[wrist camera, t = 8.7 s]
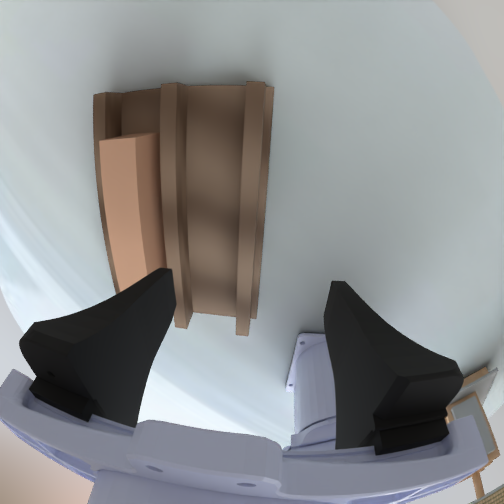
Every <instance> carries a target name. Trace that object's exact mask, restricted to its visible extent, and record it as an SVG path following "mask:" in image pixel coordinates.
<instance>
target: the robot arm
mask: <svg viewBox="0 0 504 504" xmlns="http://www.w3.org/2000/svg"><path fill="white" fill-rule="evenodd" d="M176 305H177V303H176V295H175V288H174V280H173V272H172V269H170V268H158V269H156V270H155V271H153V272H151V273H150V274H148V275H147V276H145V277H144V278H142V279H141V280H139V281H137V282H136V283H134V284H133V285H131V286H130V287H128V288H126V289H125V290H123V291H121V292H120V293H118V294H116V295H115V296H113V297H111V298H109V299H107V300H105V301H103V302H101V303H99V304H97V305H95V306H92V307H90V308H87V309H85V310H82V311H79V312H77V313H74V314H70V315H67V316H63V317H60V318H56V319H51V320H45V321H40V322H34V323H33V324H32V326H31V327H30V328H29V329H28V331H27V332H26V333H25V334H24V336H23V337H22V338H21V339H20V341H19V346H20V349H21V352H22V354H23V356H24V358H25V359H26V361H27V362H28V364H29V365H30V367H31V369H32V370H33V372H34V373H35V375H36V376H37V377H36V378H35V380H34V381H33V380H31V379H30V378H29V377H28V376H26V375H24V374H22V373H21V372H19V371H17V370H15V369H13V370H12V371H11V372H10V374H9V375H8V377H7V378H6V379H5V381H4V382H3V384H2V385H1V387H0V420H1V422H2V423H3V424H5V425H6V426H7V427H8V428H9V429H10V430H11V431H12V432H13V433H14V434H15V435H16V436H17V437H18V438H20V439H21V440H23V441H24V442H25V443H27V444H28V445H30V446H31V447H33V448H34V449H36V450H37V451H39V452H41V453H42V454H44V455H45V456H47V457H48V458H50V459H52V460H53V461H55V462H57V463H58V464H60V465H62V466H64V467H65V468H67V469H69V470H71V471H72V472H74V473H76V474H78V475H80V476H82V477H84V478H86V479H88V480H90V481H92V482H94V486H93V489H92V492H91V495H90V498H89V500H88V503H87V504H406V503H408V502H411V501H414V500H417V499H420V498H423V497H426V496H428V495H431V494H434V493H437V492H439V491H442V490H444V489H447V488H449V487H452V486H454V485H455V484H457V483H459V482H460V481H462V480H463V479H465V478H467V477H468V476H470V475H471V474H473V473H474V472H476V471H477V470H479V469H480V468H482V467H483V466H485V465H486V464H487V463H488V462H489V460H488V457H487V453H486V450H485V447H484V444H483V441H482V438H481V435H480V433H479V430H478V427H477V425H476V422H475V419H474V417H473V415H469V416H466V417H463V418H459V419H456V420H453V421H451V422H450V423H448V424H446V421H445V418H446V417H447V416H448V413H447V410H446V407H447V406H448V405H449V403H450V402H451V401H452V400H453V399H454V397H455V396H456V395H457V394H458V392H459V391H460V389H461V388H462V385H463V382H464V377H463V375H462V373H461V371H460V369H459V367H458V365H457V363H456V361H454V360H452V359H449V358H447V357H444V356H442V355H439V354H437V353H434V352H432V351H430V350H428V349H426V348H424V347H423V346H421V345H419V344H417V343H415V342H414V341H412V340H411V339H409V338H407V337H406V336H404V335H403V334H401V333H400V332H399V331H397V330H396V329H395V328H393V327H392V326H391V325H389V324H388V323H387V322H386V321H384V320H383V319H382V318H381V317H380V316H379V315H378V314H377V313H376V312H375V311H373V310H372V309H371V308H370V307H369V306H368V305H367V304H366V303H365V302H364V301H363V300H362V299H361V298H360V296H359V295H358V294H357V293H356V292H355V291H354V290H353V289H352V288H351V287H350V286H349V285H348V284H347V283H346V282H345V281H332V282H331V287H330V291H329V296H328V300H327V304H326V308H325V312H324V329H325V334H312V333H301V334H299V335H298V338H297V342H296V346H295V351H294V355H293V359H292V363H291V367H290V371H289V375H288V379H287V383H286V387H285V390H286V391H287V392H294V416H295V434H294V435H291V446H286V447H284V448H283V449H282V448H281V446H280V445H279V444H278V443H277V442H274V441H272V440H270V439H268V438H266V437H260V436H254V435H249V434H239V433H230V432H221V431H214V430H207V429H201V428H195V427H189V426H184V425H179V424H174V423H169V422H165V421H156V420H146V421H143V422H140V423H137V421H138V415H139V411H140V406H141V402H142V397H143V393H144V389H145V386H146V382H147V379H148V375H149V372H150V369H151V366H152V363H153V361H154V358H155V356H156V354H157V352H158V349H159V347H160V345H161V343H162V341H163V339H164V337H165V335H166V332H167V330H168V328H169V326H170V324H171V321H172V318H173V315H174V312H175V308H176ZM301 341H304V342H301Z"/></svg>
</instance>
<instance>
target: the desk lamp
mask: <svg viewBox="0 0 504 504" xmlns="http://www.w3.org/2000/svg"><path fill="white" fill-rule="evenodd" d="M497 371H498V369H497V368H496V369H494V370H492V371H491V372H488V370H487V368H486V367H484V368H482V369H481V370H479V371H477V372H475V373H474V374H472V375H470V376H468V377H466V378H464V382H463V385H462V388H461V389H460V391H459V392H458V394H457V395H456V396H455V397H454V399H453V400H452V401H451V402H450V403H449V405H448V406H447V407H446V410H447V413H448V416H447V417H446V418H445V421H446V424H448V423H450V422H451V421H453V420H456V419H459V418H463V417H466V416H469V415H473V417H474V419H475V422H476V425H477V427H478V430H479V433H480V435H481V438H482V441H483V444H484V447H485V450H486V453H487V457H488V460H489V462H488V463H487V464H486V465H485V466H483V467H482V468H480V469H479V470H477V471H476V472H474V473H473V474H471V475H470V476H468V477H467V478H465V479H463V480H462V481H464V480H466V479H468V478H470V477H472V479H473V483H474V487H475V492H476V496H477V500H475V501H473V502H471V503H469V504H504V484H503V485H501V486H499V487H498V488H496V489H494V490H493V491H491V492H489V493H487V494H486V495H485V494H484V490H483V486H482V481H481V478H480V473H479V472H481V471H483V470H484V468H485V467H487V466H488V465H490V464H491V463H492V462H493V461H492V460H494V459H496V458H497V457H499V455H500V453H499V450H498V447H497V444H496V441H495V438H494V435H493V433H492V430H491V427H490V425H489V422H488V419H487V417H486V414H485V412H484V410H483V407H482V406H483V404H484V401H485V399H486V397H487V395H488V393H489V391H490V388H491V386H492V384H493V381H494V379H495V376H496V374H497ZM462 481H460V482H462ZM460 482H459V483H460ZM457 484H458V483H457ZM455 485H456V484H455Z"/></svg>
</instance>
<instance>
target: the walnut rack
mask: <svg viewBox="0 0 504 504" xmlns="http://www.w3.org/2000/svg"><path fill="white" fill-rule="evenodd" d="M273 97H274V87H266V84H265V82H253V81H247V84H246V85H201V86H186V85H183V84H180V83H167V84H161V88H157V89H147V90H139V91H132V92H125V93H113V92H104V93H99V94H94V97H93V132H94V155H95V170H96V181H97V191H98V199H99V207H100V215H101V221H102V228H103V234H104V240H105V245H106V251H107V256H108V261H109V265H110V270H111V275H112V279H113V283H114V287H115V292H116V294H118V293H120V289H119V285H118V280H117V276H116V271H115V266H114V261H113V256H112V251H111V245H110V239H109V233H108V227H107V220H106V213H105V205H104V197H103V188H102V177H101V164H100V146H99V141H101V140H105V139H109V138H114V137H118V136H123V135H128V134H137V133H153V132H160V168H161V194H162V212H163V226H164V238H165V249H166V260H167V268H170V269H172V272H173V280H174V288H175V295H176V303H177V305H176V308H175V312H174V322H175V327H177V328H184V329H187V327H188V325H189V322H190V319H191V317H192V314H193V312H196V313H205V314H213V315H222V316H231V317H236V335H241V336H248V334H249V326H250V318H252V319H256V317H257V306H258V295H259V283H260V271H261V259H262V246H263V234H264V221H265V208H266V195H267V182H268V169H269V155H270V141H271V126H272V112H273Z"/></svg>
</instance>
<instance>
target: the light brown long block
mask: <svg viewBox="0 0 504 504" xmlns="http://www.w3.org/2000/svg"><path fill="white" fill-rule="evenodd" d="M99 146H100V164H101V177H102V188H103V197H104V205H105V213H106V220H107V227H108V233H109V239H110V245H111V251H112V256H113V261H114V266H115V271H116V276H117V280H118V285H119V289H120V292H121V291H123V290H125V289H126V288H128V287H130V286H131V285H133V284H134V283H136V282H137V281H139V280H141V279H142V278H144V277H145V276H147V275H148V274H150V273H151V272H153V271H155V270H156V269H158V268H167V260H166V249H165V238H164V226H163V212H162V194H161V168H160V132H153V133H137V134H128V135H123V136H118V137H114V138H109V139H105V140H101V141H99Z"/></svg>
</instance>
